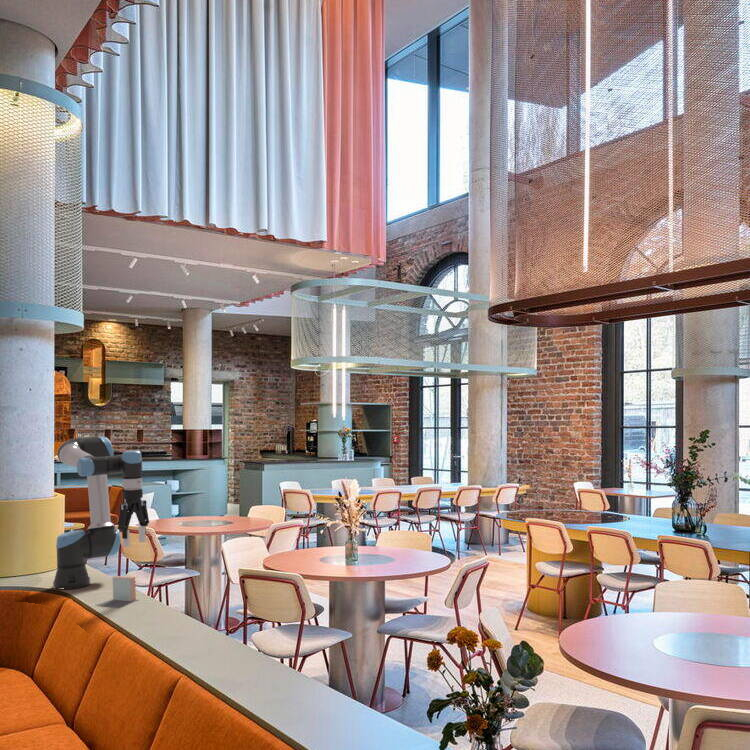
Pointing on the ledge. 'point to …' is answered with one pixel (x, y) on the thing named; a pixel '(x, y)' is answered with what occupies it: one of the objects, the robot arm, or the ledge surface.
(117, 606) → the mat
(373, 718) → the ledge surface
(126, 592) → the block
